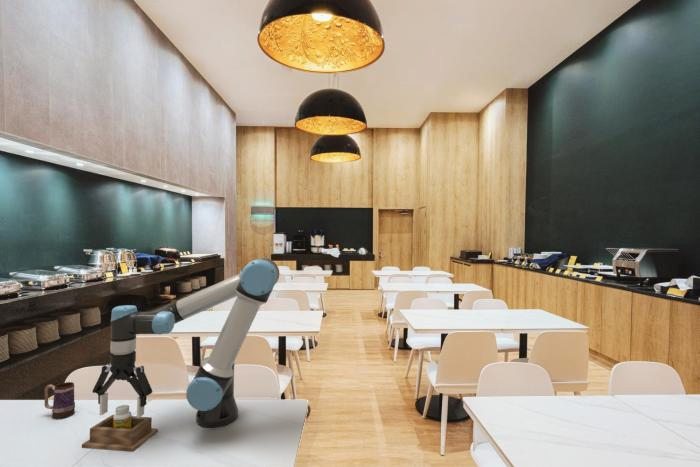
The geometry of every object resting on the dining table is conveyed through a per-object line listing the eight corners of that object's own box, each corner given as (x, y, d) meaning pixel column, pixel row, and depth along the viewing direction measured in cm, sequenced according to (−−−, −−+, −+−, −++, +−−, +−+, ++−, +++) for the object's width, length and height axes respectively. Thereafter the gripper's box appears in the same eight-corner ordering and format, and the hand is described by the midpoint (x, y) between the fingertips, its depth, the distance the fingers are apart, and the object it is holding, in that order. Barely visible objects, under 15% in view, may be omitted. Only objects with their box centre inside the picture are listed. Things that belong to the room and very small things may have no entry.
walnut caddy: (158, 431, 134) (158, 415, 134) (132, 451, 121) (133, 434, 121) (111, 428, 136) (111, 412, 136) (81, 447, 123) (81, 430, 123)
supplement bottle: (130, 430, 132) (131, 402, 133) (131, 436, 128) (132, 408, 128) (112, 434, 130) (113, 406, 130) (112, 441, 125) (113, 411, 125)
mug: (79, 410, 150) (79, 380, 150) (67, 419, 143) (68, 387, 143) (51, 411, 149) (52, 381, 149) (38, 420, 142) (39, 387, 142)
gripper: (164, 350, 132) (163, 411, 131) (98, 347, 135) (97, 407, 134) (150, 356, 124) (149, 422, 124) (81, 353, 127) (79, 417, 127)
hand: (121, 414), depth 129 cm, fingers open, 13 cm apart
